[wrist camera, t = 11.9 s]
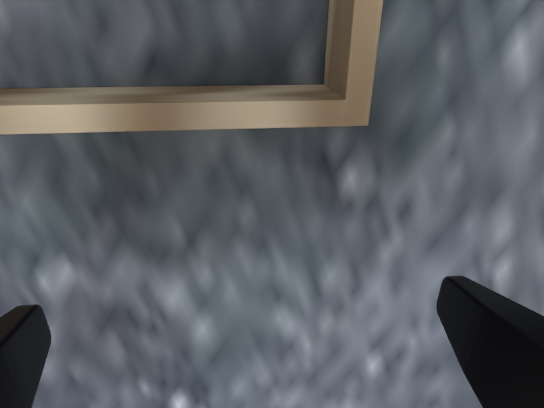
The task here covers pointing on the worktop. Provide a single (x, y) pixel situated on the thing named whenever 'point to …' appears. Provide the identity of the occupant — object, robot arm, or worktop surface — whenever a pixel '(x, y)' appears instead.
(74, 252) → the worktop surface
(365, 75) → the birch rack
